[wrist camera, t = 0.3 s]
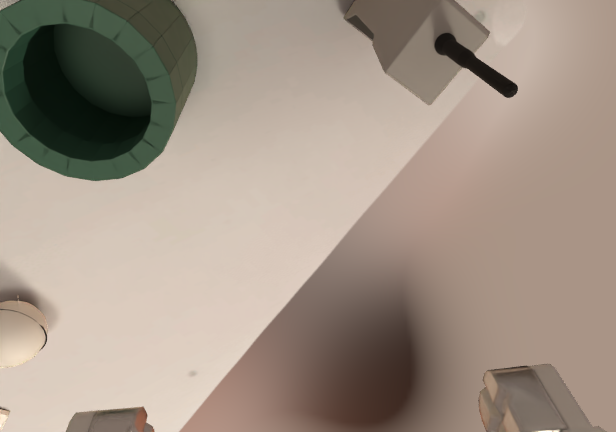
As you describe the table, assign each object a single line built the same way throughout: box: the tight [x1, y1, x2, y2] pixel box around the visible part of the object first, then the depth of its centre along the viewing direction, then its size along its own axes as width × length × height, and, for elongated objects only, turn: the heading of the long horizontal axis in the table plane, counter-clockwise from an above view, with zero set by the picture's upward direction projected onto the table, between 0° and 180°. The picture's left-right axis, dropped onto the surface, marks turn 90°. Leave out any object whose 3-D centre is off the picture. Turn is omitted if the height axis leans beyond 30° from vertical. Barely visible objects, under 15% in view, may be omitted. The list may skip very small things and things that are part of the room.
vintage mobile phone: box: [344, 0, 518, 105], centre depth 29 cm, size 4×5×25 cm
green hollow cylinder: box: [0, 0, 197, 181], centre depth 35 cm, size 12×12×12 cm
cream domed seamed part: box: [0, 295, 48, 368], centre depth 52 cm, size 10×7×7 cm
